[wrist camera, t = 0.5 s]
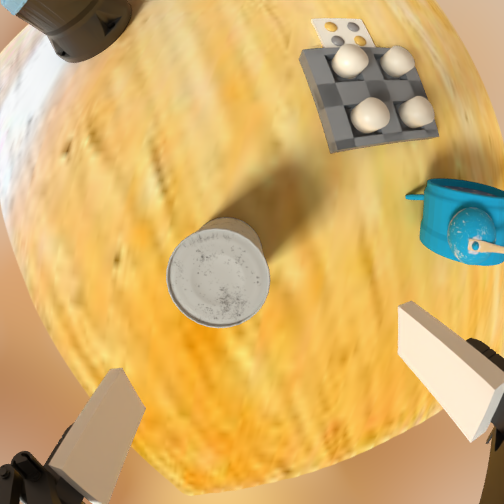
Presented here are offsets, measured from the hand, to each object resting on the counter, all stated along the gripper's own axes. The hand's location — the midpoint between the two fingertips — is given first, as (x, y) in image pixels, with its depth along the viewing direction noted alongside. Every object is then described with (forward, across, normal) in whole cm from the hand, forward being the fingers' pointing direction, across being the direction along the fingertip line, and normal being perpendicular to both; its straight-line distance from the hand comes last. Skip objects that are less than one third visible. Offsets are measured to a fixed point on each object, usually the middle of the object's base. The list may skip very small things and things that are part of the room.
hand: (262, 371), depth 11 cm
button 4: (+23, +27, +14) cm, 38 cm away
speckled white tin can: (+26, -3, 0) cm, 26 cm away
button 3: (+23, +26, +22) cm, 41 cm away
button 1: (+23, +18, +22) cm, 37 cm away
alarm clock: (+26, +30, -1) cm, 40 cm away
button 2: (+23, +19, +14) cm, 32 cm away
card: (+26, +22, +30) cm, 45 cm away
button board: (+26, +22, +18) cm, 39 cm away
